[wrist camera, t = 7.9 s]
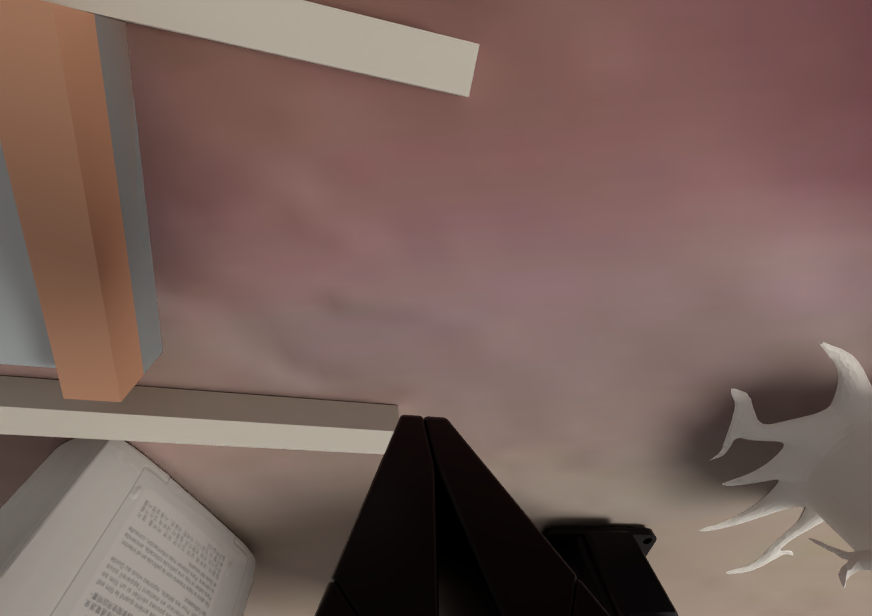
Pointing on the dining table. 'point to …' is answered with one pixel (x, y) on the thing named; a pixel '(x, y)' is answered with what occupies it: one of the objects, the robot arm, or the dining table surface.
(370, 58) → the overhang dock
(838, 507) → the tree stump
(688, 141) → the dining table surface
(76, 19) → the orange and grey box
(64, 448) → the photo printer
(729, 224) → the dining table surface
